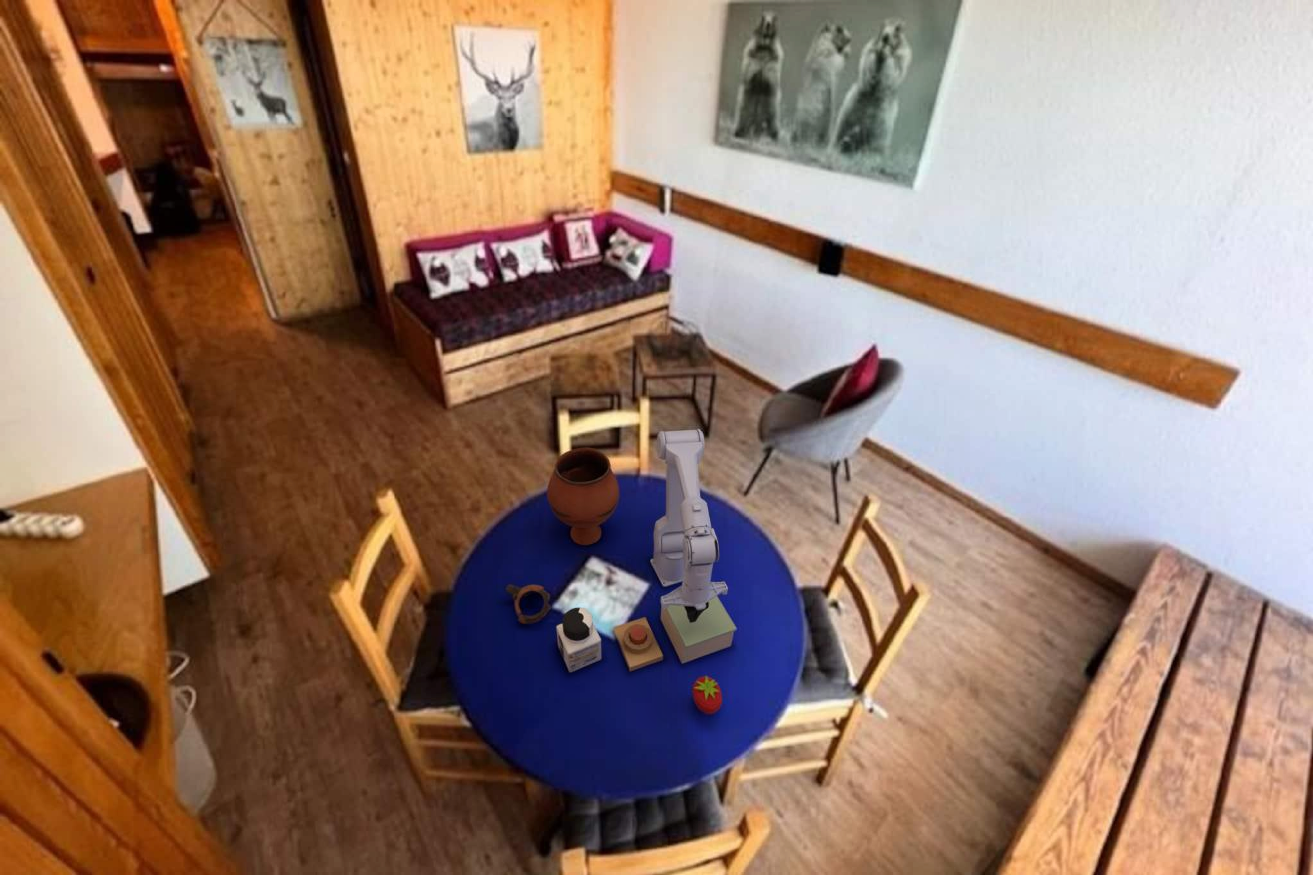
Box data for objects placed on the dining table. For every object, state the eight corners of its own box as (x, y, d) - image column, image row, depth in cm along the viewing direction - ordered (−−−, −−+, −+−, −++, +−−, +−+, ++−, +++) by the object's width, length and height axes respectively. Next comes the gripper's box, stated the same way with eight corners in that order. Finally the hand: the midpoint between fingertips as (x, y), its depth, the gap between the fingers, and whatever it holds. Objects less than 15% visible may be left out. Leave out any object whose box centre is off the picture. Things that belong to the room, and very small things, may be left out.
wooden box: (731, 646, 134) (734, 628, 130) (681, 663, 130) (684, 646, 126) (707, 603, 143) (709, 586, 139) (660, 619, 139) (661, 601, 135)
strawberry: (697, 728, 118) (702, 703, 112) (685, 695, 124) (689, 669, 118) (724, 721, 120) (730, 696, 114) (711, 688, 126) (716, 662, 120)
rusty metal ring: (559, 596, 144) (557, 592, 136) (540, 632, 140) (538, 630, 132) (515, 576, 144) (512, 570, 137) (496, 611, 141) (491, 608, 133)
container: (569, 673, 127) (566, 639, 119) (557, 645, 132) (554, 610, 124) (602, 659, 130) (601, 625, 122) (589, 632, 135) (587, 597, 127)
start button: (627, 633, 132) (627, 628, 131) (642, 628, 133) (642, 624, 132) (633, 646, 129) (633, 641, 128) (648, 641, 131) (648, 636, 130)
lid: (736, 630, 129) (736, 628, 129) (685, 648, 125) (685, 646, 125) (709, 586, 139) (710, 584, 139) (661, 601, 135) (661, 599, 135)
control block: (613, 631, 136) (613, 622, 134) (645, 621, 138) (645, 612, 136) (629, 671, 128) (629, 662, 126) (662, 659, 130) (663, 651, 128)
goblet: (582, 499, 171) (579, 432, 156) (633, 529, 163) (635, 460, 148) (536, 537, 158) (527, 468, 143) (589, 571, 150) (585, 501, 135)
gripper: (669, 602, 114) (666, 642, 122) (736, 586, 118) (728, 625, 126) (658, 575, 120) (656, 615, 128) (723, 560, 123) (716, 600, 132)
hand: (691, 618), depth 127 cm, fingers closed
